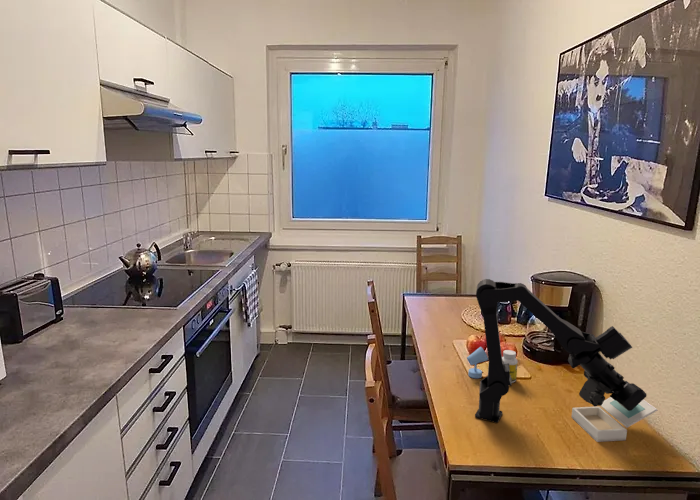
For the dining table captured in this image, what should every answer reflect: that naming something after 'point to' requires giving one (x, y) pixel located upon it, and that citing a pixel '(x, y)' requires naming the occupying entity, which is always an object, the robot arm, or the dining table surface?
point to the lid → (628, 416)
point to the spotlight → (474, 359)
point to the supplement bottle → (511, 363)
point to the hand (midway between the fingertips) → (631, 403)
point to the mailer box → (599, 424)
